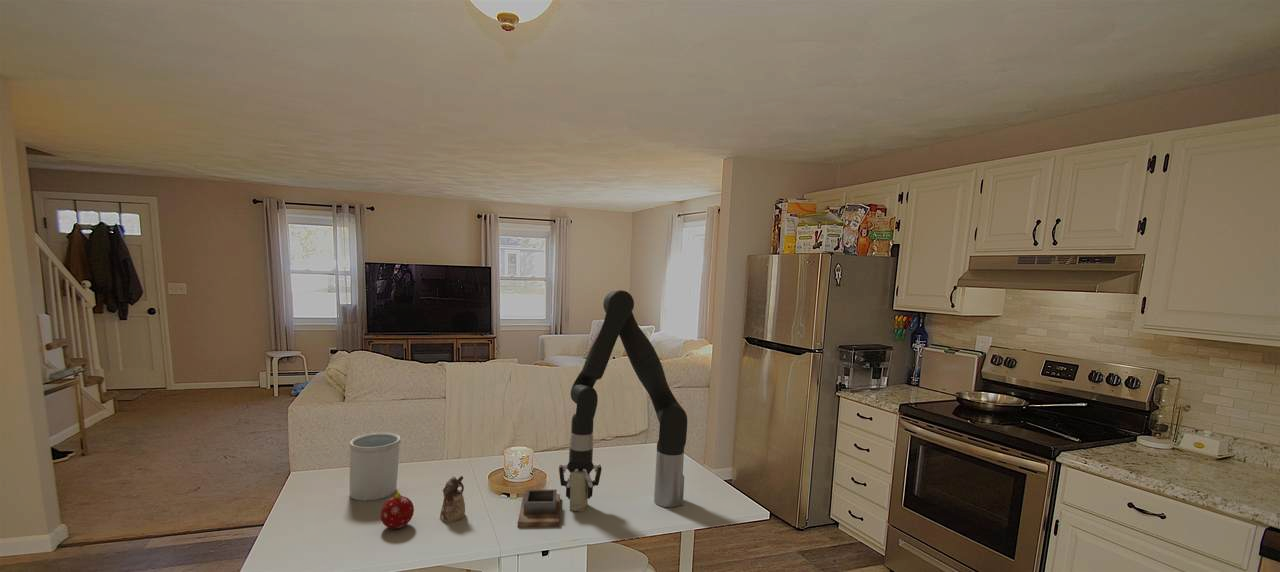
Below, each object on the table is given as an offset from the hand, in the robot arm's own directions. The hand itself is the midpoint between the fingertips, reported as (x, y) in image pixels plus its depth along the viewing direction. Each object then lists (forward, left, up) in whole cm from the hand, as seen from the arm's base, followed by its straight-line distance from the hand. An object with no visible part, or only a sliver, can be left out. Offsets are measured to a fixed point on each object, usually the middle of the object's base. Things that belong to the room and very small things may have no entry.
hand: (578, 497), depth 163 cm
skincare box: (0, 0, -3) cm, 3 cm away
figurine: (+38, +5, -3) cm, 38 cm away
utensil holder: (+67, -13, -3) cm, 68 cm away
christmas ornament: (+52, +11, -3) cm, 53 cm away
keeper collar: (+12, +3, -2) cm, 12 cm away
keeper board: (+12, +3, -3) cm, 13 cm away
